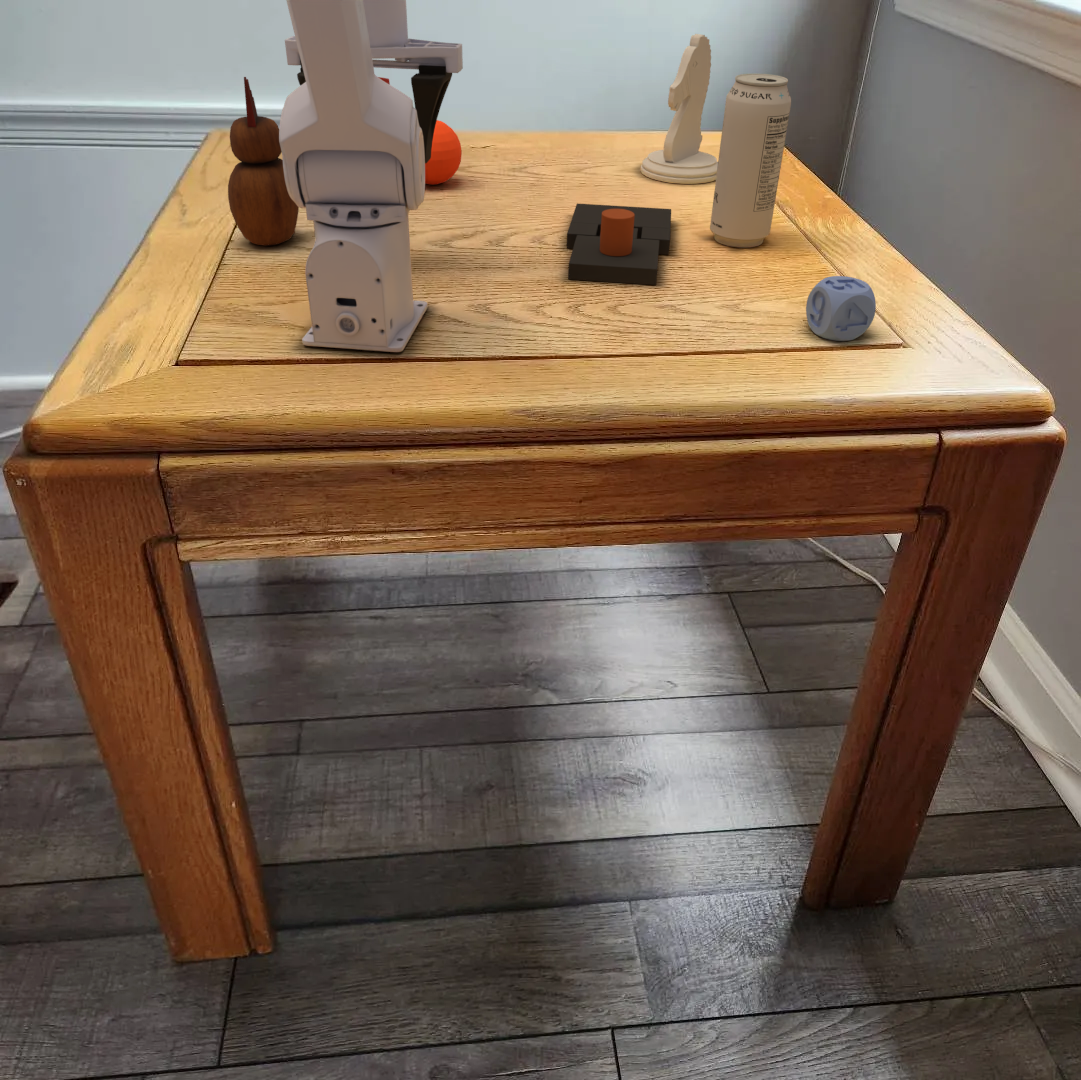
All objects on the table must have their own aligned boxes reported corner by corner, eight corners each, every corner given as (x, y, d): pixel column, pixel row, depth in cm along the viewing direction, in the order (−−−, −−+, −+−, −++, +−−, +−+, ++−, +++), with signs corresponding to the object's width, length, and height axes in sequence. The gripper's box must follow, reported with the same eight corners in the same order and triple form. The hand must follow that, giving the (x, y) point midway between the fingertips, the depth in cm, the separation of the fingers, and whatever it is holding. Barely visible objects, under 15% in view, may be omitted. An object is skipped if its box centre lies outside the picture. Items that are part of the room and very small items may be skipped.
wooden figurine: (284, 254, 91) (260, 82, 82) (227, 248, 92) (198, 77, 83) (311, 231, 96) (292, 68, 87) (258, 226, 97) (233, 64, 88)
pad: (655, 285, 86) (661, 230, 83) (568, 279, 87) (570, 224, 84) (658, 244, 95) (663, 193, 92) (579, 239, 96) (581, 188, 93)
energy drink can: (724, 226, 100) (746, 69, 92) (778, 238, 98) (805, 77, 89) (698, 240, 96) (717, 78, 88) (752, 253, 94) (778, 87, 85)
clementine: (418, 197, 106) (414, 129, 102) (383, 183, 110) (378, 117, 106) (474, 185, 111) (473, 119, 106) (439, 172, 115) (436, 108, 111)
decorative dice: (869, 338, 78) (881, 291, 75) (826, 343, 77) (836, 296, 74) (843, 319, 81) (853, 273, 78) (801, 324, 80) (810, 277, 77)
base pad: (668, 255, 93) (670, 239, 92) (566, 248, 94) (567, 233, 93) (670, 223, 101) (671, 208, 100) (576, 217, 102) (576, 203, 101)
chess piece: (625, 173, 116) (635, 35, 107) (665, 157, 122) (678, 26, 114) (696, 189, 111) (713, 46, 102) (734, 171, 118) (753, 35, 109)
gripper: (467, -22, 78) (471, 151, 86) (297, -29, 80) (316, 142, 88) (450, -13, 73) (456, 171, 81) (267, -20, 74) (290, 162, 82)
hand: (381, 158), depth 84 cm, fingers open, 7 cm apart
